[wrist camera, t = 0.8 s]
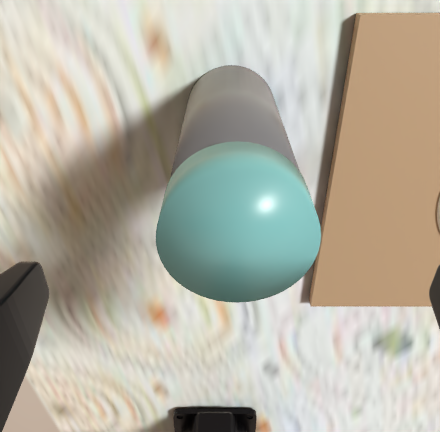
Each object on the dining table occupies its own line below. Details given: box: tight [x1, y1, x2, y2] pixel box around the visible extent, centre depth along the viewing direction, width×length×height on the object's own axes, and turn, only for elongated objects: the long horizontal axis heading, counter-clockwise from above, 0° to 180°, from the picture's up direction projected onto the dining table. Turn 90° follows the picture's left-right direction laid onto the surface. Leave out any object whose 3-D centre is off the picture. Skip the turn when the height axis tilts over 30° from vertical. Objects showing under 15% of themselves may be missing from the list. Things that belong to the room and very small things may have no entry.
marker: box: [156, 65, 321, 302], centre depth 14 cm, size 4×4×10 cm
